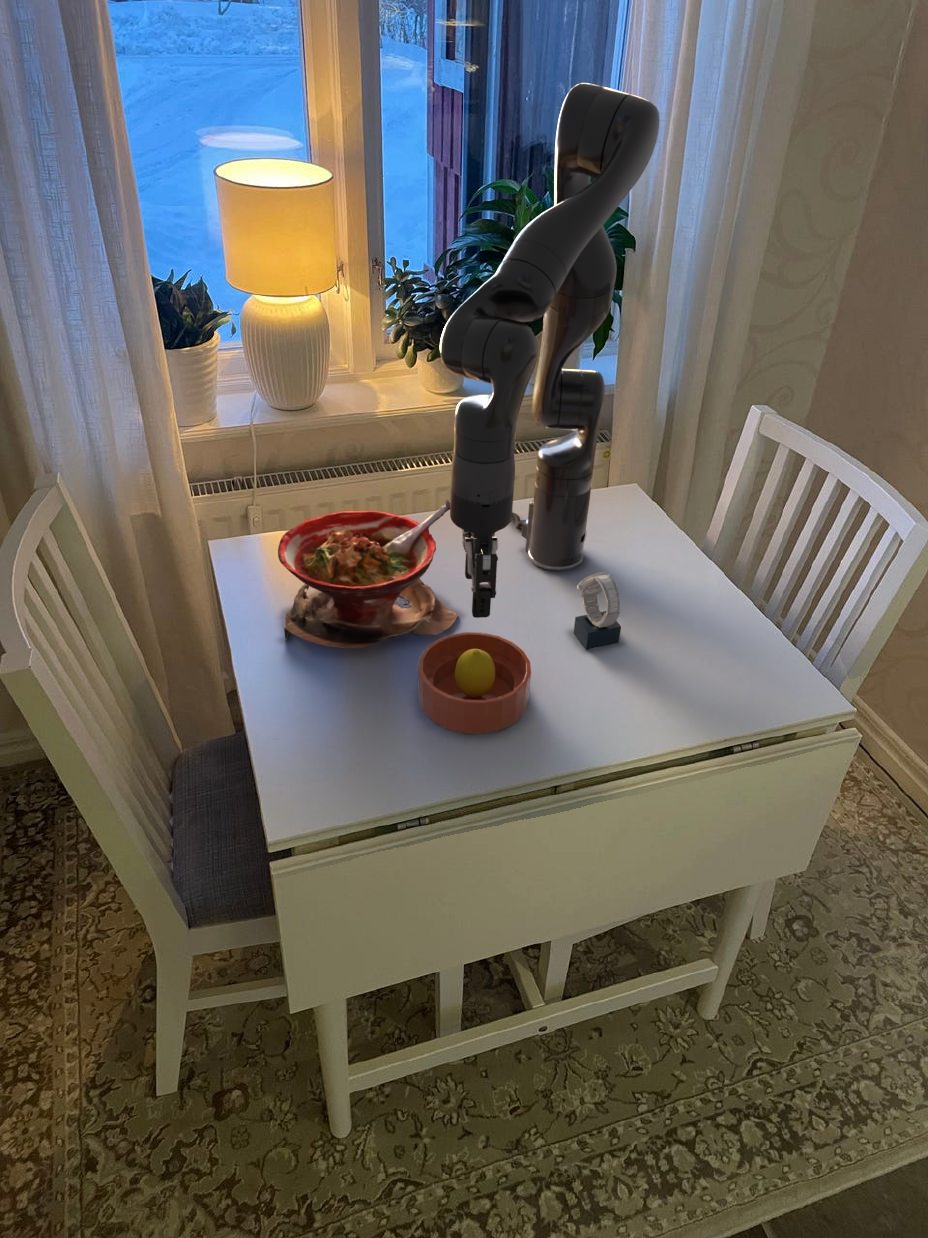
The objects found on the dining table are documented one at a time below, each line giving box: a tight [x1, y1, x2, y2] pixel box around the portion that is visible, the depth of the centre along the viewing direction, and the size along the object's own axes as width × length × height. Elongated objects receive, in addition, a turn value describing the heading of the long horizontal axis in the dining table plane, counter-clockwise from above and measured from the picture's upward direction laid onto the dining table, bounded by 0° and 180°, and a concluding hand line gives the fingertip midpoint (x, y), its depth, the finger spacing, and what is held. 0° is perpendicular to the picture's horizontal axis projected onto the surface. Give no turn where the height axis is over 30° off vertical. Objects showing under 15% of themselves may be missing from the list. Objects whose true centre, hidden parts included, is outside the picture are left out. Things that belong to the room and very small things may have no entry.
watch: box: [572, 572, 622, 651], centre depth 139 cm, size 6×8×11 cm
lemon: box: [455, 649, 495, 697], centre depth 127 cm, size 6×6×8 cm
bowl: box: [417, 631, 532, 734], centre depth 128 cm, size 15×15×6 cm
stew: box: [277, 499, 458, 649], centre depth 141 cm, size 28×24×16 cm
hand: (477, 596), depth 120 cm, fingers open, 8 cm apart
